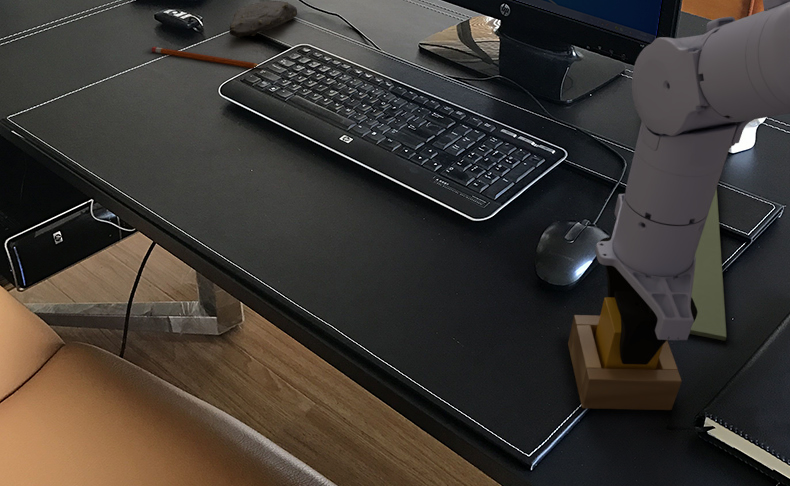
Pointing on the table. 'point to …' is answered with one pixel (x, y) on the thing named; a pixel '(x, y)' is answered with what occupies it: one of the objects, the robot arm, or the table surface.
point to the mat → (709, 280)
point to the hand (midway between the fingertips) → (627, 339)
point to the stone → (261, 17)
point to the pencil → (204, 57)
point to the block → (614, 339)
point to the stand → (619, 375)
